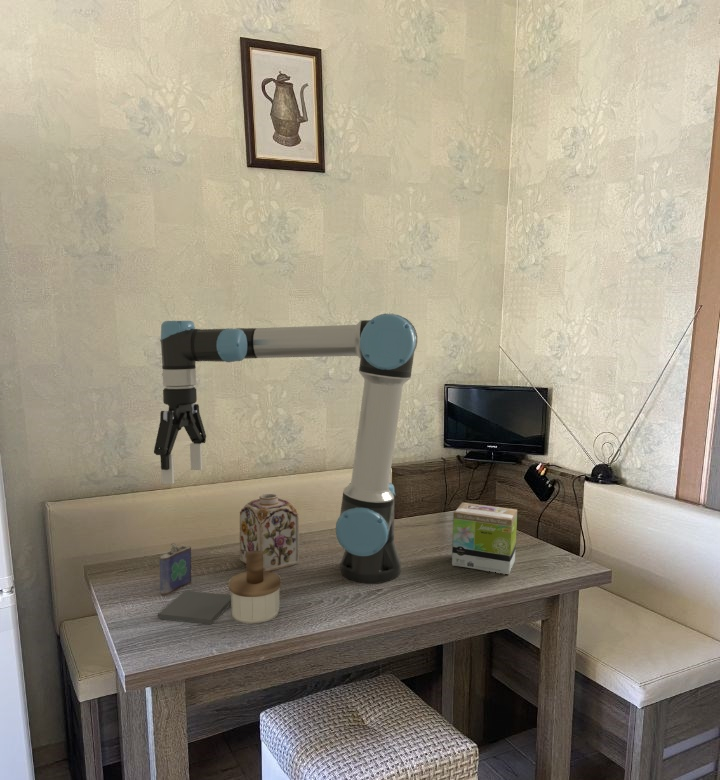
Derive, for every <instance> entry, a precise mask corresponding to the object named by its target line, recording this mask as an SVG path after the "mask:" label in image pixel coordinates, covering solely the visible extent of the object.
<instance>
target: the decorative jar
mask: <svg viewBox="0 0 720 780" xmlns="http://www.w3.org/2000/svg"><path fill="white" fill-rule="evenodd" d="M278 497H279V496H278V495H277V494H275V493H265V494H260V496H259V499H258V498H257V499H252V500H251V501H249V502H247V503H246V504H245V505H244V506H243V508H241V509H240V511H239V558H240V559H239V560H240V562H242V563H244V564H246V553H247V552H249V551H262V552H263V571H269V572H274V571H278V570H281V569H285V568H287V567H288V568H289V567H291V566H294V565H295V566H296V565H298V564H299V563H300V562H299V558H300V529H299V528H300V523H299V522H300V518H299V512H298V511H297V509H296V507H295V506H294V504H293V503H292V501H289V500H288V499H284V498H280V497H279V498H278Z"/></svg>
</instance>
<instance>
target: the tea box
mask: <svg viewBox="0 0 720 780" xmlns="http://www.w3.org/2000/svg"><path fill="white" fill-rule="evenodd" d="M452 519H453V520H452V542H451V545H452V547H451V549H452V550H451V564H452V567H462V568H467V569H474V570H480V571H484V572H489V571H490V572H489V573H495V572H496V573H495V574H500V573H503V574H502V575H505V574H509V575H510V573H511V570H512V569H513V566H514V564H515V561H516V549H517V524H518V523H517V522H518V508H517V509H515V508H508V507H507V508H506V507H501V506H500V507H499V506H492V505H485V504H477V503H469V502H461V503H460V504H459V506H458V507H457V509H456V510H455V511H454V512H453V518H452ZM511 568H512V569H511Z"/></svg>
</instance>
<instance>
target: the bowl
mask: <svg viewBox="0 0 720 780" xmlns="http://www.w3.org/2000/svg"><path fill="white" fill-rule="evenodd" d="M230 595H231V604H230V610H231V617H232V618H233V620H234V621H236V622H239V623H244V624H251V625H252V624H254V625H255V624H260V623H261V624H262V623H265V622H269V621H271V620H273V619H274V618H276V617H277V616H278V615H279V613H280V611H279V609H280V588H279V589H278V590H277V591H275V592H273V593H271V594H268V595H264V596H258V597H244V596H239V595H236V594H233V593H232V592H231V591H230Z"/></svg>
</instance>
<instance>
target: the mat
mask: <svg viewBox="0 0 720 780" xmlns="http://www.w3.org/2000/svg"><path fill="white" fill-rule="evenodd" d="M229 606H231V594H226V593H225V594H224V593H213V592H204V591H194V590H184V591H183V592H182V593H181V594H179V595H178V596H177V597H176V598H175V599H173V601H172V602H170V603H169V604H168V605H167V606H166V607H165V608H163V609H162V610H161V611H159V612H158V619H159V620H169V621H170V620H171V621H177V622H178V621H179V622H188V623H196V624H197V623H198V624H205V625H212V624H213V623H214V622H215V621H216V620H217V619H218V617H219V616H221V614H223V613H224V611H225V610H226V609H228V607H229Z"/></svg>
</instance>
